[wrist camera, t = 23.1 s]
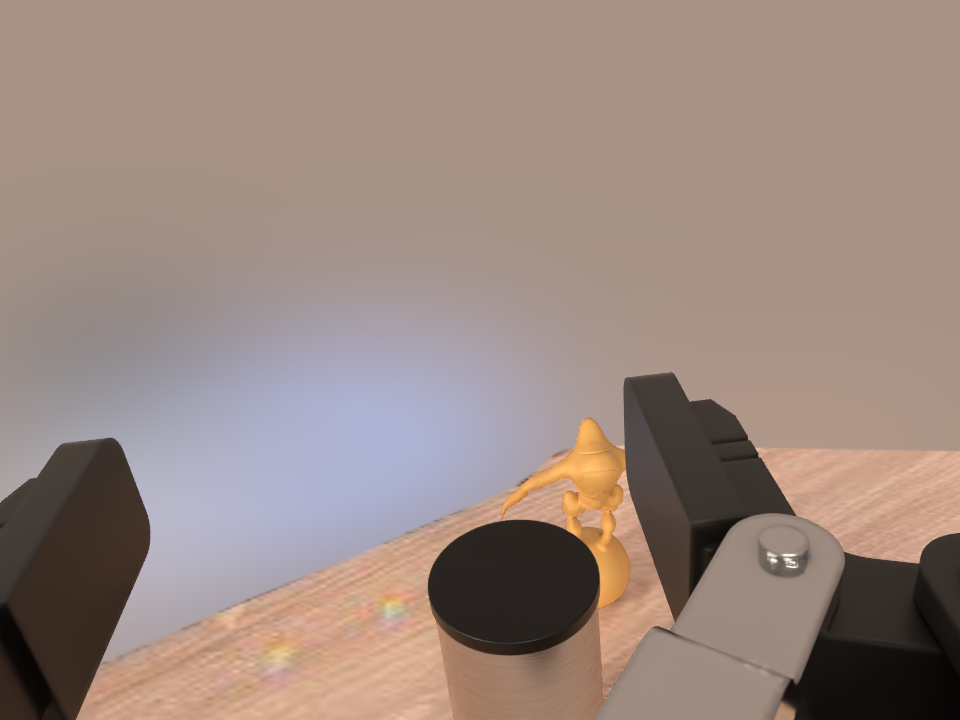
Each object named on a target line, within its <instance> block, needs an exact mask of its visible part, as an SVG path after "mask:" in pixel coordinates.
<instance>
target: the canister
mask: <svg viewBox="0 0 960 720" xmlns="http://www.w3.org/2000/svg"><path fill="white" fill-rule="evenodd" d="M428 595H429V601H430V606H431V609H432V613H433V615H434V617H435V619H436V623H437V628H438V634H439V639H440V645H441V650H442V656H443V661H444V667H445V672H446V678H447V683H448V689H449V694H450V700H451V705H452V711H453V716H454V720H594V718H595V716H596V715H597V713H598V711H599V710H600V708H601V706H602V705H603V689H602V669H601V649H600V629H599V609H598V602H599V597H600V573H599V567H598V564H597V561H596V559H595V557H594V555H593V553H592V551H591V550H590V549H589V548H588V546H587V545H586V544H585V543H584V542H583V541H582V540H581V539H579V538H578V537H577V536H575V535H574V534H572V533H571V532H569V531H567V530H565V529H563V528H561V527H558V526H556V525H552V524H549V523H545V522H540V521H533V520H506V521H500V522H495V523H491V524H487V525H484V526H481V527H478V528H475V529H473V530H471V531H469V532H467V533H465V534H463V535H462V536H460V537H458V538H457V539H456V540H454V541H453V542H451V543H450V544H449V545H448V546H447V547H446V548H445V549H444V550H443V551H442V552H441V554H440V555H439V556H438V558H437V559H436V561H435V562H434V564H433V567H432V569H431V571H430V575H429V579H428Z"/></svg>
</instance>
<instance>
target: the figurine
mask: <svg viewBox="0 0 960 720" xmlns="http://www.w3.org/2000/svg"><path fill="white" fill-rule="evenodd" d="M625 469H626V463H625V450H623V449H620V448H618V447H616V446H614V445H612V444H611V443H610V442H609V441H608V439H607V438H606V437H605V435H604V433H603V431H602V430H601V428H600V426H599V425H598V423H597V422H596V421H595V420H594V419H592V418H586V419H584V420H583V421H582V423H581V424H580V427H579V431H578V436H577V441H576V445H575V447H574V449H573V451H572V452H571V453H570V454H569V455H568V456H567V457H565V458H564V459H563V460H561V461H560V462H558V463H557V464H556V465H554V466H553V467H551V468H550V469H547V470H545V471H543V472H541V473H539V474H537V475H535V476H534V477H532V478H531V479H529V480H528V481H526V482H525V483H523V484H522V485H521V486H520V488H519V489H518V490H517V491H516V492H514V493H513V494H511V495H510V496H509V497H508V499H507V500H506V501H505V503H504V504H503V507H502V511H501V519H503V515H504V513H505V511H506V510H507V509H508V508H509V507H510V506H512V505H514V504H516V503H518V502H519V501H521V500H522V499H523V498H524V497H525V496H527V494H528V493H529V492H530V491H533V490H536V489H539V488H542V487H544V486H546V485H549V484H551V483H553V482H555V481H557V480H560V479H563V478H571V479H572V481H573V482H574V484H575V487H576V489H577V490H578V492H579V493H578V492H576V493H574V492H572V491H567V492H566V493H565V494H564V496H563V502H562V511H563V512H564V514H566V515H567V531H569V532H571V533H572V534H574V535H575V536H577V537H578V538H579V539H581V540H582V541H583V542H584V543H585V544H586V545H587V546H588V548H589V549H590V550H591V551H592V553H593V555H594V557H595V559H596V561H597V564H598V567H599V573H600V597H599V602H598V609H599V608H603V607H605V606H608V605H610V604H611V603H613V602H614V601H616V600H617V599H618V598H619V597H620V596H621V594H622V593H623V592H624V590H625V588H626V586H627V583H628V580H629V575H630V564H629V559H628V555H627V553H626V551H625V549H624V547H623V545H622V544H621V543H620V542H619V540H618V539H617V538H615V537H614V536H613V535H612V532H613V531H614V529H615V526H616V521H615V518H614V516H613V514H612V513H611V511H615V510H616V509H617V507H618V505H620V504H621V503H622V501H623V489H622V488H621V486H619V485H617V484H616V482H617V481H618V479H619V477H620V476H621V474H622V472H623V471H624V470H625ZM585 509H590V510H598V509H600V510H603V514H602V517H601V527H602V529H603V530H602V529H599V528H594V527H583V528H582V526H581V524H580V522H579V520H578V519H577V518H576V517H575V516H577V515H579V514H581V513H583V512H584V511H585Z"/></svg>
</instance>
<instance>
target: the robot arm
mask: <svg viewBox="0 0 960 720" xmlns="http://www.w3.org/2000/svg"><path fill="white" fill-rule="evenodd" d="M624 430H625V463H626V473H627V480H628V485H629V490H630V494H631V497H632V501H633V503H634V506H635V509H636V512H637V515H638V518H639V521H640V523H641V526H642V529H643V532H644V535H645V538H646V541H647V544H648V546H649V549H650V552H651V555H652V558H653V561H654V564H655V566H656V569H657V572H658V575H659V578H660V581H661V584H662V586H663V589H664V592H665V595H666V598H667V601H668V604H669V606H670V609H671V612H672V615H673V618H674V621H675V624H674V626H673V627H672V628H671V630H670V631H669V630H666V629H664V628H661V627H659V626H655V627H653V628H652V629H650V630H649V631H648V633H647V634H646V635H645V636H644V638H643V639H642V641H641V642H640V644H639V646H638V647H637V649H636V651H635V652H634V654H633V655H632V657H631V659H630V660H629V662H628V664H627V665H626V667H625V669H624V670H623V672H622V674H621V675H620V677H619V678H618V680H617V682H616V683H615V685H614V687H613V688H612V690H611V692H610V693H609V695H608V697H607V698H606V700H605V701H604V703H603V705H602V706H601V708H600V710H599V711H598V713H597V715H596V716H595V718H594V720H960V533H956V534H949V535H945V536H942V537H939V538H937V539H935V540H933V541H931V542H930V543H929V544H928V545H927V546H926V547H925V548H924V550H923V551H922V554H921V558H920V563H919V564H916V563H907V562H898V561H889V560H881V559H872V558H866V557H860V556H856V555H852V554H849V553H846V552H843V548H842V547H841V545H840V543H839V542H838V541H837V539H836V538H835V537H834V536H833V535H832V534H831V533H829V532H828V531H827V530H826V529H824V528H823V527H821V526H819V525H818V524H816V523H814V522H811V521H809V520H806V519H804V518H801V517H797V516H796V514H795V513H794V511H793V510H792V508H791V506H790V505H789V503H788V501H787V500H786V498H785V496H784V495H783V493H782V492H781V490H780V488H779V487H778V485H777V483H776V482H775V480H774V478H773V477H772V475H771V474H770V472H769V470H768V469H767V467H766V465H765V464H764V462H763V460H762V459H761V458H759V457H758V452H757V451H756V449H755V447H754V446H753V444H752V442H751V441H748V436H747V434H746V433H745V431H744V429H743V428H742V426H741V424H740V423H739V421H738V420H737V418H736V416H735V415H733V414H732V413H730V412H729V411H727V410H726V409H724V408H723V407H721V406H720V405H719V404H717V403H716V402H714V401H713V400H711V399H709V400H700V401H692V402H689V400H688V399H687V397H686V395H685V393H684V391H683V389H682V387H681V385H680V384H679V382H678V380H677V378H676V376H675V375H674V373H672V372H671V373H662V374H653V375H645V376H636V377H628V378H626V379H625V381H624ZM149 545H150V524H149V519H148V515H147V512H146V509H145V507H144V504H143V501H142V499H141V496H140V494H139V491H138V488H137V486H136V483H135V481H134V478H133V475H132V473H131V470H130V467H129V465H128V462H127V459H126V457H125V454H124V452H123V449H122V447H121V446H120V444H119V443H118V441H116V440H115V439H113V438H105V439H96V440H88V441H79V442H71V443H64V444H62V445H60V446H59V447H58V448H57V449H56V451H55V452H54V454H53V455H52V456H51V458H50V459H49V461H48V462H47V464H46V465H45V467H44V468H43V470H42V471H41V473H40V474H39V475H38V477H37V478H33V479H29V480H28V481H27V482H26V483H24V484H23V485H22V486H21V487H19V488H18V489H17V490H15V491H14V492H13V493H12V494H10V495H9V496H8V497H7V498H5V499H4V500H3V501H2V502H1V503H0V720H76V718H77V715H78V713H79V711H80V708H81V706H82V704H83V701H84V699H85V697H86V695H87V692H88V690H89V688H90V685H91V683H92V681H93V678H94V676H95V674H96V672H97V669H98V667H99V665H100V662H101V660H102V658H103V655H104V653H105V651H106V649H107V646H108V644H109V641H110V639H111V637H112V635H113V632H114V630H115V628H116V625H117V623H118V621H119V619H120V616H121V614H122V611H123V609H124V607H125V605H126V602H127V600H128V598H129V595H130V593H131V591H132V589H133V586H134V584H135V582H136V579H137V577H138V575H139V572H140V570H141V568H142V566H143V563H144V561H145V559H146V556H147V554H148V550H149Z"/></svg>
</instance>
